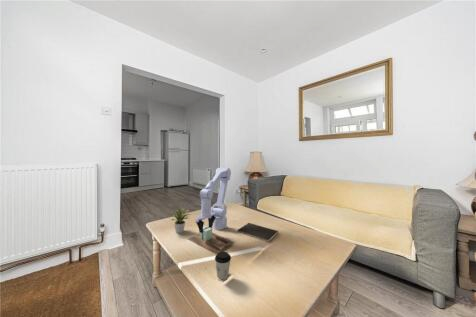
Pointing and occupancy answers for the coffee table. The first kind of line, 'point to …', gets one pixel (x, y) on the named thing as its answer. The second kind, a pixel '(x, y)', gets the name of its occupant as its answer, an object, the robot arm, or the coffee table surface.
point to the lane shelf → (212, 243)
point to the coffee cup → (222, 265)
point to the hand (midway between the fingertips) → (205, 230)
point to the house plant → (180, 221)
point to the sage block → (206, 233)
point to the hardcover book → (258, 232)
